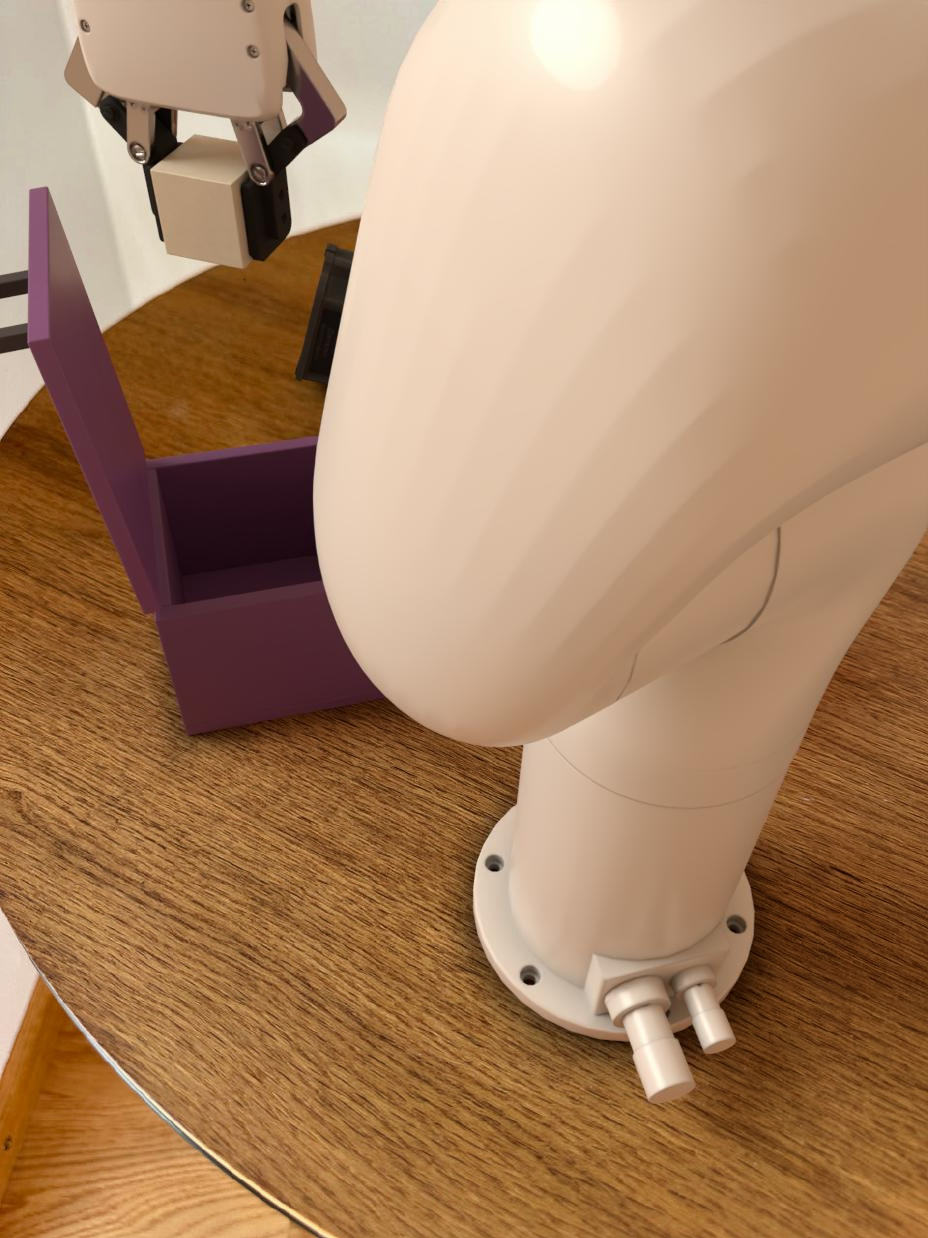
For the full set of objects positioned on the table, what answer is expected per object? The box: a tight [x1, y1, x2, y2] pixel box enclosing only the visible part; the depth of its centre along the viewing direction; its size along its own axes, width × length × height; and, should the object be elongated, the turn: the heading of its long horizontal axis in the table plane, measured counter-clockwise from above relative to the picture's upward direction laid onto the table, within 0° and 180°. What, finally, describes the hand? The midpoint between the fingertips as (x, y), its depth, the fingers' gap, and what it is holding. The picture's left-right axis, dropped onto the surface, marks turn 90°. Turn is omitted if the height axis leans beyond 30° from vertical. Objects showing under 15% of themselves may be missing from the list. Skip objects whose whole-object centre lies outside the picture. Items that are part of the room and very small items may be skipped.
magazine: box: [294, 242, 355, 385], centre depth 71 cm, size 17×3×30 cm
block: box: [150, 133, 254, 270], centre depth 54 cm, size 4×4×4 cm
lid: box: [0, 185, 161, 616], centre depth 46 cm, size 14×12×5 cm
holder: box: [146, 435, 388, 737], centre depth 57 cm, size 14×12×9 cm
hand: (224, 236), depth 56 cm, fingers closed on block, 4 cm apart
